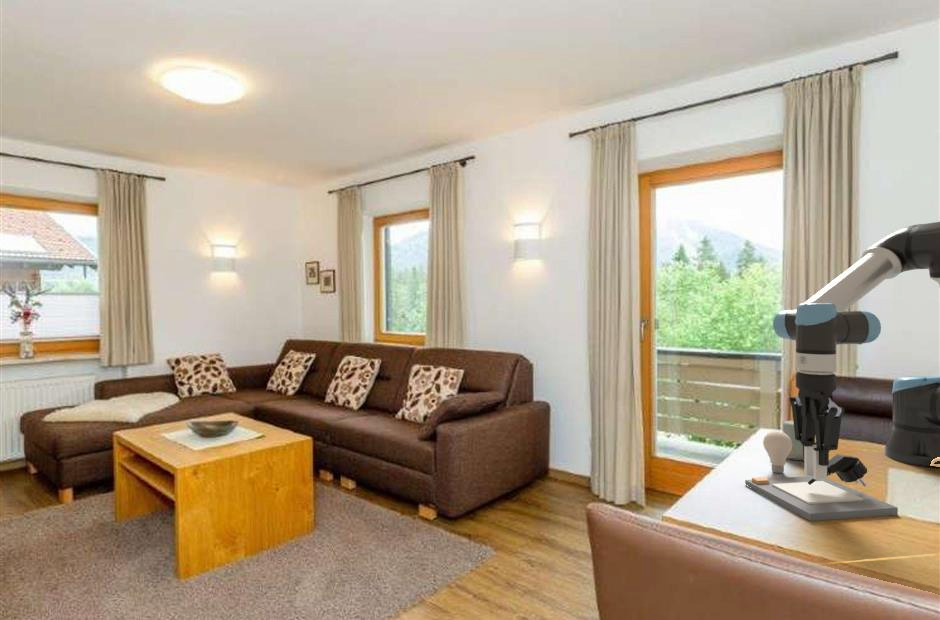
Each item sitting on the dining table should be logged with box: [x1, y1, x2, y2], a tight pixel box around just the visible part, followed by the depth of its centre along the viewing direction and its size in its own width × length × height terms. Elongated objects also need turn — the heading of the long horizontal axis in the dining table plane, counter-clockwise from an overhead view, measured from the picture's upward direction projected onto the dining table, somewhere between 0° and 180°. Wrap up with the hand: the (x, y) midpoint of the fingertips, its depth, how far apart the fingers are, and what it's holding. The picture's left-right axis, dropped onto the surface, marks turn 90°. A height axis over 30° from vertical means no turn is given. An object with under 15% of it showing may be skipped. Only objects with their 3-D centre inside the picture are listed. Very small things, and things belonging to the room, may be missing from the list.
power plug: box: [807, 454, 868, 487], centre depth 116 cm, size 6×8×12 cm
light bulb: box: [762, 430, 792, 474], centre depth 133 cm, size 7×7×11 cm
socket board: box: [744, 475, 899, 522], centre depth 116 cm, size 20×20×2 cm
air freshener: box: [782, 420, 816, 461], centre depth 146 cm, size 11×8×10 cm
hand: (815, 476), depth 116 cm, fingers closed on power plug, 2 cm apart
